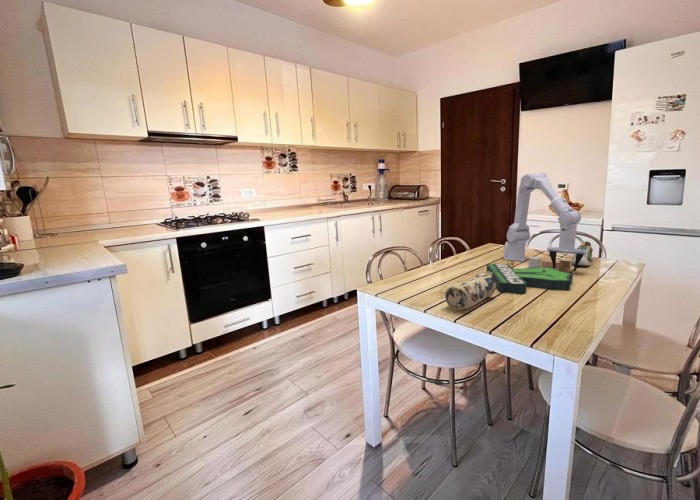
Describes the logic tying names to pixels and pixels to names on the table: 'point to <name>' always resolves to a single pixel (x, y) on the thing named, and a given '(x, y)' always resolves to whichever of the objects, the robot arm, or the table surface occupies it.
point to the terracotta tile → (549, 262)
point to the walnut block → (564, 266)
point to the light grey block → (534, 262)
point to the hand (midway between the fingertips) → (564, 269)
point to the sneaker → (586, 258)
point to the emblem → (528, 278)
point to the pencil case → (470, 291)
